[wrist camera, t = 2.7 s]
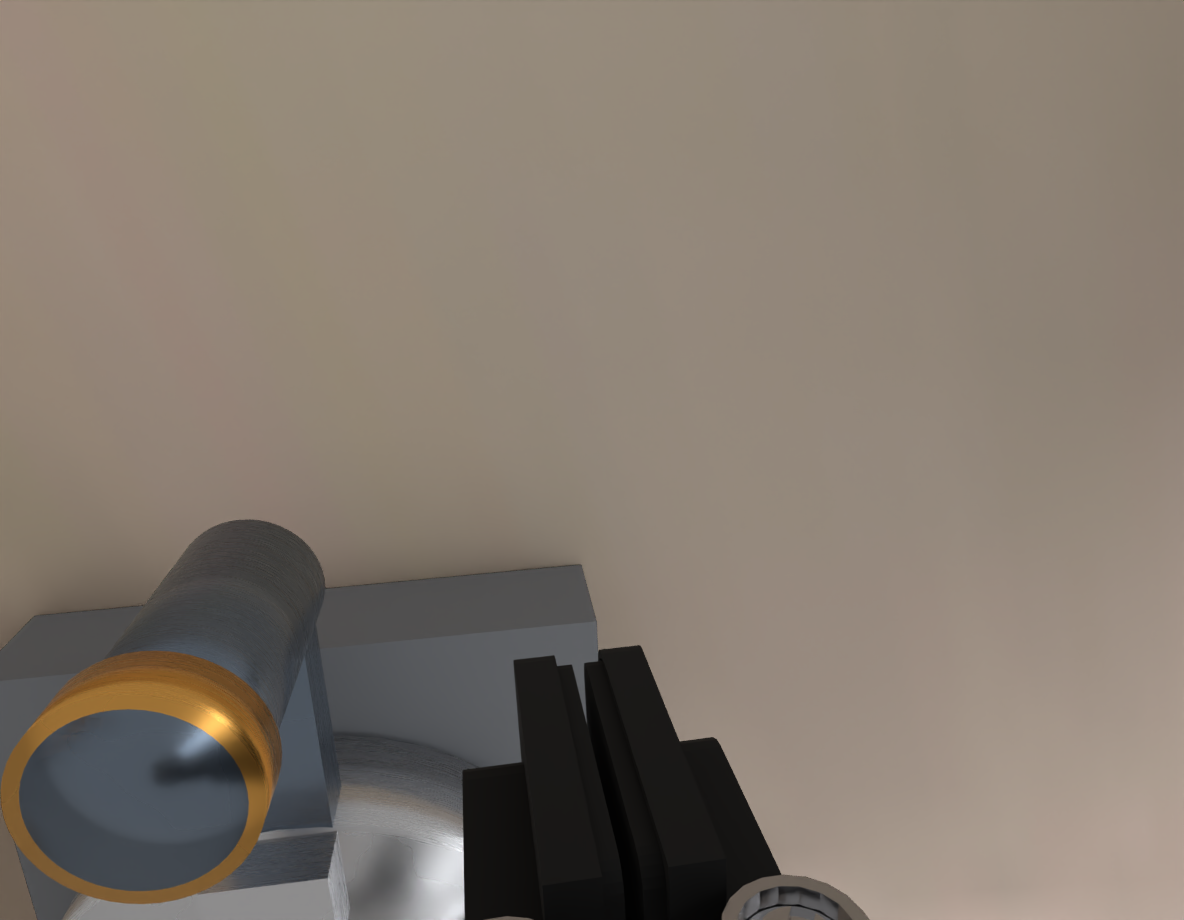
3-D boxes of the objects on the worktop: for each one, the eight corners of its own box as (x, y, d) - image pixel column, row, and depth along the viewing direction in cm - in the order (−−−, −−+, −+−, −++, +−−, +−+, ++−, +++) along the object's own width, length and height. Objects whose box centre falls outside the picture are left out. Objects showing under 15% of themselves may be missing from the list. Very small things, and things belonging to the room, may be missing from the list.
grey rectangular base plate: (581, 564, 23) (597, 625, 20) (607, 1042, 28) (623, 1149, 25) (34, 615, 21) (-38, 689, 18) (164, 1108, 26) (125, 1230, 23)
